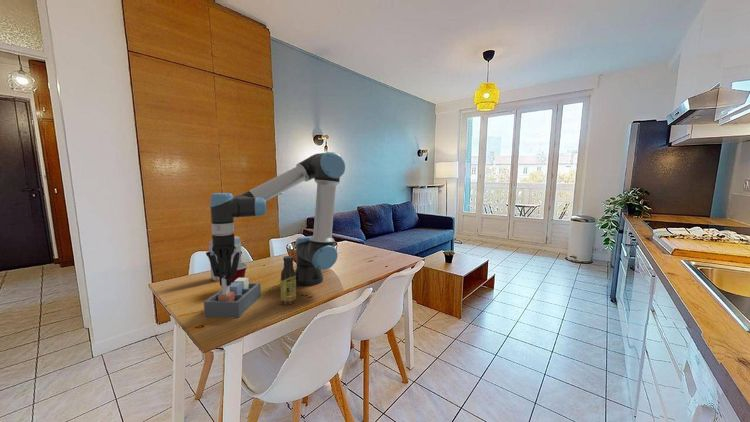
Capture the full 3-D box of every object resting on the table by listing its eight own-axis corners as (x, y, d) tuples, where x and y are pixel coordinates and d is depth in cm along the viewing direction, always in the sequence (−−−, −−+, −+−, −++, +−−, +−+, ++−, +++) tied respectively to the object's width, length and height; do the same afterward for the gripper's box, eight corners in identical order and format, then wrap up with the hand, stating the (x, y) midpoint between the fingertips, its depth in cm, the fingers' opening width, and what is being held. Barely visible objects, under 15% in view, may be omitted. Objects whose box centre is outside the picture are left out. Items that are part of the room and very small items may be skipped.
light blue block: (242, 294, 120) (241, 282, 119) (237, 298, 115) (236, 286, 115) (232, 294, 120) (231, 282, 119) (226, 298, 115) (226, 286, 115)
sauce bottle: (287, 307, 117) (286, 260, 115) (277, 303, 121) (276, 257, 118) (299, 301, 123) (298, 256, 120) (289, 297, 126) (288, 254, 124)
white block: (248, 288, 126) (248, 277, 125) (244, 292, 121) (243, 281, 121) (239, 288, 126) (238, 277, 125) (234, 292, 122) (233, 281, 121)
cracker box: (237, 272, 158) (235, 235, 156) (242, 274, 155) (241, 236, 153) (210, 279, 147) (208, 239, 145) (216, 282, 144) (213, 241, 141)
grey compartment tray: (260, 295, 128) (260, 282, 127) (238, 317, 108) (238, 302, 107) (231, 295, 128) (231, 282, 127) (204, 317, 108) (203, 301, 107)
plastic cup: (238, 294, 129) (237, 269, 127) (218, 292, 131) (216, 267, 129) (253, 286, 139) (252, 262, 138) (234, 284, 141) (233, 260, 140)
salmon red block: (235, 304, 114) (234, 291, 113) (229, 308, 110) (228, 296, 109) (224, 303, 114) (223, 291, 113) (218, 308, 110) (217, 296, 109)
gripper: (200, 235, 105) (203, 297, 107) (235, 236, 104) (237, 297, 107) (212, 231, 112) (215, 289, 115) (244, 232, 112) (247, 290, 115)
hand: (226, 293), depth 111 cm, fingers closed
